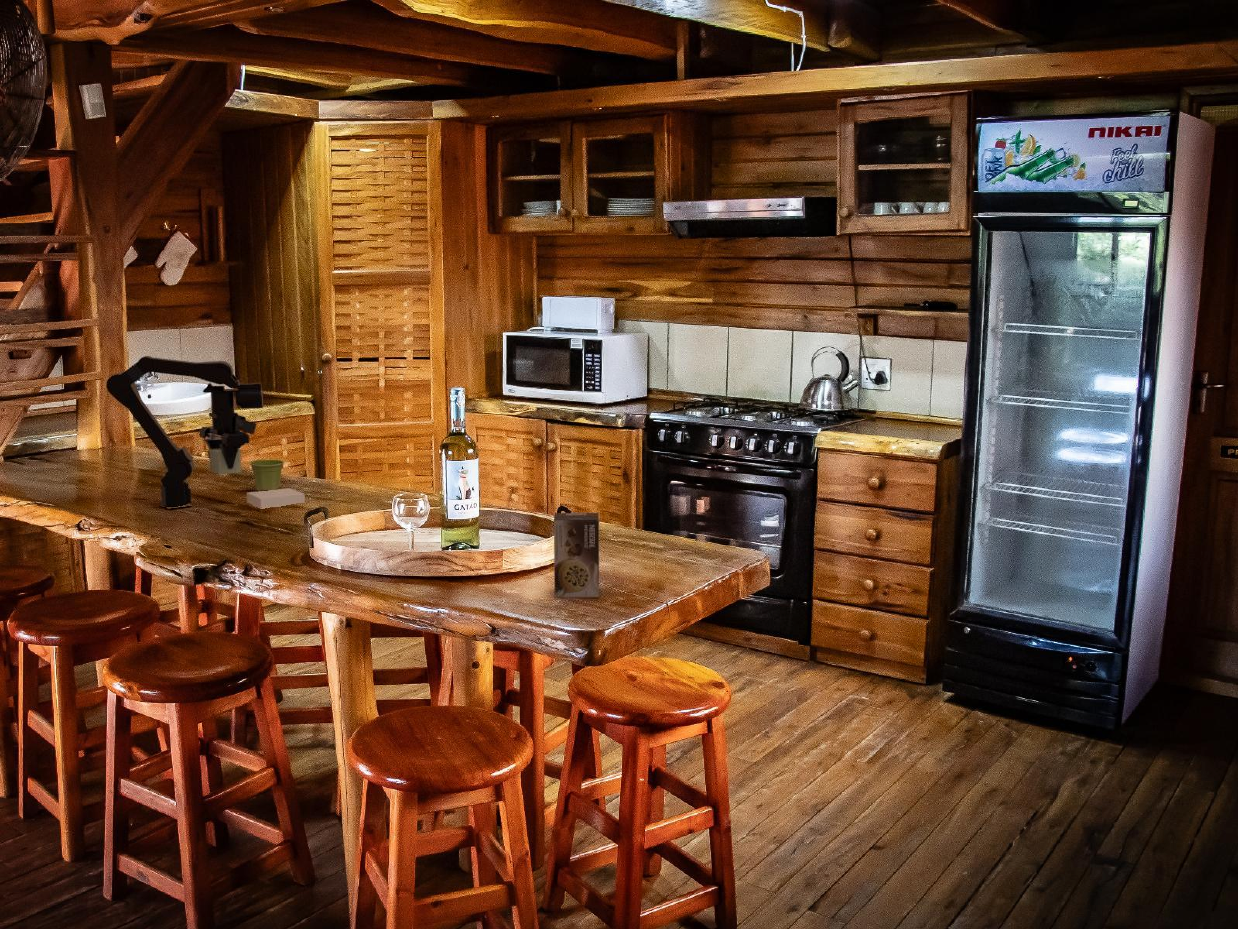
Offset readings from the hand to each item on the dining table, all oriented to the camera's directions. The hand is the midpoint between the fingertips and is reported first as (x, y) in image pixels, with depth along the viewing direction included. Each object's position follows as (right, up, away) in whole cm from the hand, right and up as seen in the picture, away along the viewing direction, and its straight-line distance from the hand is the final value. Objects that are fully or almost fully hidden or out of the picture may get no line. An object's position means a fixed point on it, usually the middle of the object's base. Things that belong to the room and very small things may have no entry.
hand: (225, 467), depth 318 cm
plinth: (+13, -11, +1) cm, 17 cm away
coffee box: (+97, -26, -78) cm, 127 cm away
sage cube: (0, -1, 0) cm, 1 cm away
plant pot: (+6, -7, +20) cm, 22 cm away
